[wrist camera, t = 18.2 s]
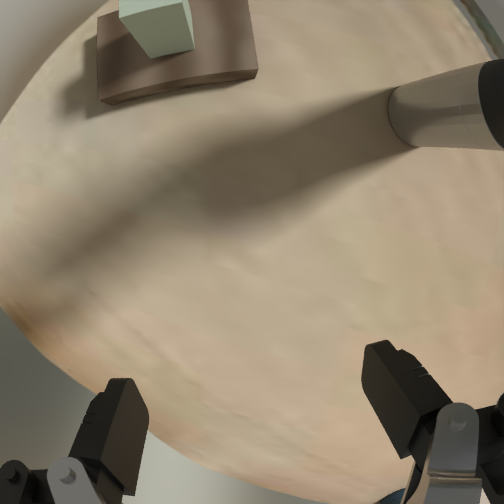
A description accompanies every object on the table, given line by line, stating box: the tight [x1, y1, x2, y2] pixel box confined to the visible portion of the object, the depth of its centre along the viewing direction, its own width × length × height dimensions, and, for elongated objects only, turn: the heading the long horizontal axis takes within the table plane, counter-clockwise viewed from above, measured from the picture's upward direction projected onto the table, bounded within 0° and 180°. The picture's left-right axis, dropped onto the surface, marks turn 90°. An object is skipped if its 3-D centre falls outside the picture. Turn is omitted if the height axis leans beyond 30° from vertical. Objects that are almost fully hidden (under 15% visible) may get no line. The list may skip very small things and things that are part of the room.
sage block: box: [119, 0, 195, 59], centre depth 19 cm, size 5×5×11 cm
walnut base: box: [97, 0, 258, 105], centre depth 27 cm, size 18×12×4 cm, turn 97°
